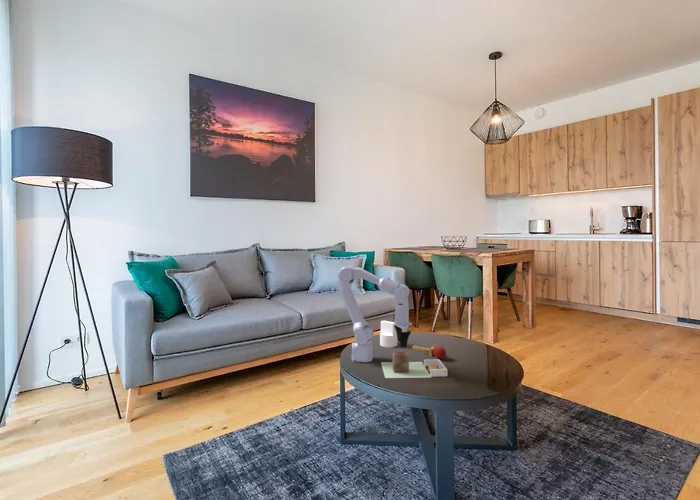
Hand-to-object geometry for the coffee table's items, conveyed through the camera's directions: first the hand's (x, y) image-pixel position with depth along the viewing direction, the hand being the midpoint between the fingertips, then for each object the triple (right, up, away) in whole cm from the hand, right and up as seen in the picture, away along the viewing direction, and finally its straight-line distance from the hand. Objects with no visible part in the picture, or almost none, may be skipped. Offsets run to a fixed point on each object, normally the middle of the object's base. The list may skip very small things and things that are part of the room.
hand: (402, 344), depth 146 cm
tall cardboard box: (-2, -9, -8) cm, 12 cm away
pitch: (+3, -10, -6) cm, 12 cm away
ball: (+11, -8, -8) cm, 16 cm away
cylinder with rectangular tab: (-2, -9, +32) cm, 34 cm away
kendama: (+15, -10, +15) cm, 23 cm away
